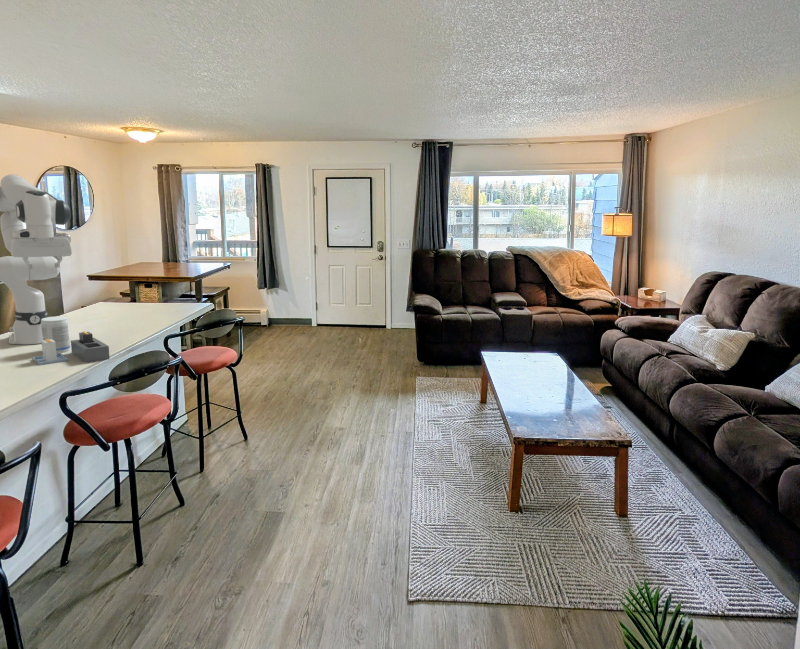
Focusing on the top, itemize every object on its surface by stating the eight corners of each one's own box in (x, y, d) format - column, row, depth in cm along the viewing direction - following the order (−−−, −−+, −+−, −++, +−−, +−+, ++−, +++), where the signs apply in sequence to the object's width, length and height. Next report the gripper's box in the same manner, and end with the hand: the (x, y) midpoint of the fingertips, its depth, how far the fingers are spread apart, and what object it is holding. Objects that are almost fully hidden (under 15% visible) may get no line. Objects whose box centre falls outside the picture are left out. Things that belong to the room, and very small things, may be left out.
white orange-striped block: (43, 359, 216) (41, 339, 214) (53, 358, 218) (51, 338, 217) (46, 362, 212) (44, 342, 211) (57, 360, 215) (55, 340, 213)
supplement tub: (73, 348, 235) (71, 316, 232) (65, 354, 226) (62, 320, 223) (49, 349, 233) (46, 316, 230) (39, 354, 224) (36, 320, 221)
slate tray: (32, 360, 215) (32, 357, 215) (60, 356, 222) (60, 353, 222) (39, 366, 209) (38, 362, 208) (68, 362, 216) (67, 358, 215)
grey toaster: (71, 354, 227) (69, 331, 225) (95, 350, 233) (93, 329, 231) (85, 363, 215) (83, 340, 213) (109, 360, 221) (108, 337, 219)
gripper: (67, 232, 219) (70, 266, 222) (7, 232, 205) (11, 268, 207) (72, 233, 215) (75, 267, 218) (11, 233, 200) (15, 270, 203)
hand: (43, 268), depth 212 cm, fingers open, 8 cm apart
